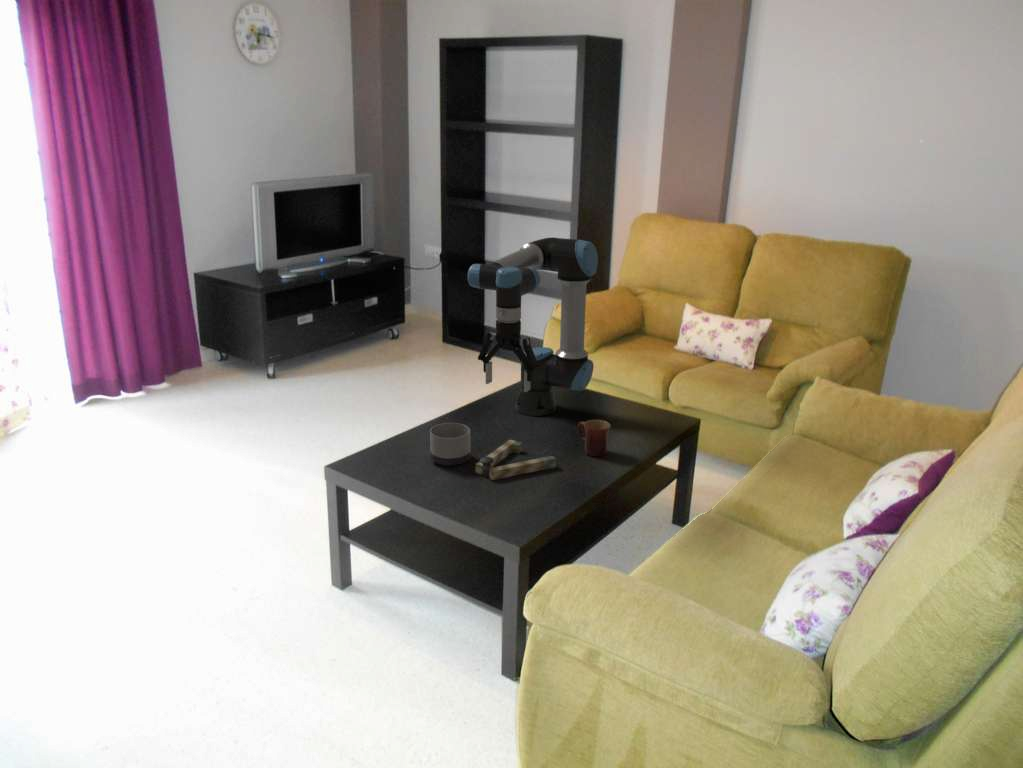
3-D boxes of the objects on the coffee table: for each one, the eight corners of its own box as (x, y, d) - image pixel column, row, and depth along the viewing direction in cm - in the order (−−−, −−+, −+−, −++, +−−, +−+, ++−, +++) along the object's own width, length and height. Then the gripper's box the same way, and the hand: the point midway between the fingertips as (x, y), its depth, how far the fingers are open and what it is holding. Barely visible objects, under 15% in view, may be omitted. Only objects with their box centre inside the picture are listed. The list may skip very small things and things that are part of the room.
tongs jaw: (492, 480, 256) (492, 471, 255) (489, 477, 258) (488, 468, 257) (555, 467, 265) (555, 458, 264) (551, 464, 268) (551, 455, 266)
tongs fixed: (489, 479, 257) (489, 463, 255) (472, 475, 260) (472, 458, 258) (525, 451, 277) (526, 436, 275) (509, 447, 280) (509, 432, 278)
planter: (424, 465, 267) (423, 434, 263) (440, 449, 278) (440, 420, 275) (460, 471, 263) (460, 440, 259) (476, 455, 274) (476, 426, 271)
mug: (614, 453, 277) (615, 424, 273) (598, 461, 271) (599, 432, 267) (585, 442, 284) (586, 414, 281) (569, 450, 278) (570, 422, 275)
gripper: (466, 316, 253) (467, 382, 260) (539, 328, 241) (537, 397, 248) (479, 311, 259) (479, 376, 266) (551, 322, 247) (549, 390, 254)
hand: (507, 386), depth 257 cm, fingers open, 13 cm apart
